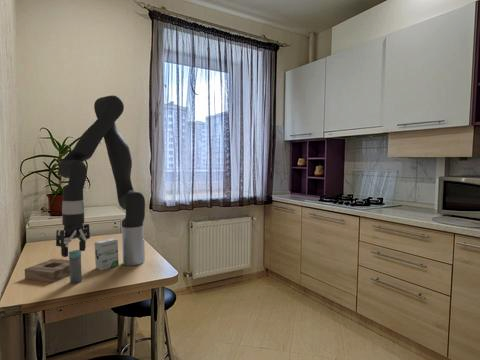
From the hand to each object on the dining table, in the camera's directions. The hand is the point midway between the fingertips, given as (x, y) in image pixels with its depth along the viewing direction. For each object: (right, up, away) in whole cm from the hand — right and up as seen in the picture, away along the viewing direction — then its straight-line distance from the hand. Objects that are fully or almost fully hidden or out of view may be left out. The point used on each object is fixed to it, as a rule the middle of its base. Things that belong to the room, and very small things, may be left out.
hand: (74, 253), depth 123 cm
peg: (0, -11, +1) cm, 11 cm away
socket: (-13, -11, +9) cm, 19 cm away
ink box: (+5, -10, +18) cm, 22 cm away
